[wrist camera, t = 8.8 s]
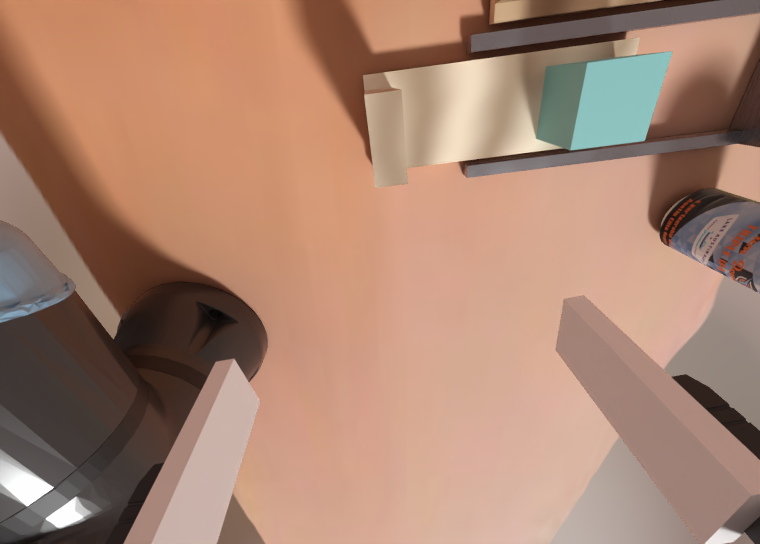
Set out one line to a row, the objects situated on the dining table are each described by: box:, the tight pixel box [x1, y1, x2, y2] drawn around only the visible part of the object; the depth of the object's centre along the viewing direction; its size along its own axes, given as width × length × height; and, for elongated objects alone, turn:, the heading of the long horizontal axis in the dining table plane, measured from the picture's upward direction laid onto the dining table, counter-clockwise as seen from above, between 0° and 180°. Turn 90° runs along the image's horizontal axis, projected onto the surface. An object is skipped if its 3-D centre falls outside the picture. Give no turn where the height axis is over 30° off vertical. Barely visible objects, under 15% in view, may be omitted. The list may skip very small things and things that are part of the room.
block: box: [536, 51, 672, 150], centre depth 22 cm, size 5×5×5 cm
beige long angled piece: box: [363, 37, 640, 188], centre depth 21 cm, size 20×7×9 cm, turn 97°
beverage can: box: [660, 188, 760, 293], centre depth 26 cm, size 6×7×12 cm
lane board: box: [463, 0, 760, 178], centre depth 21 cm, size 24×19×3 cm
